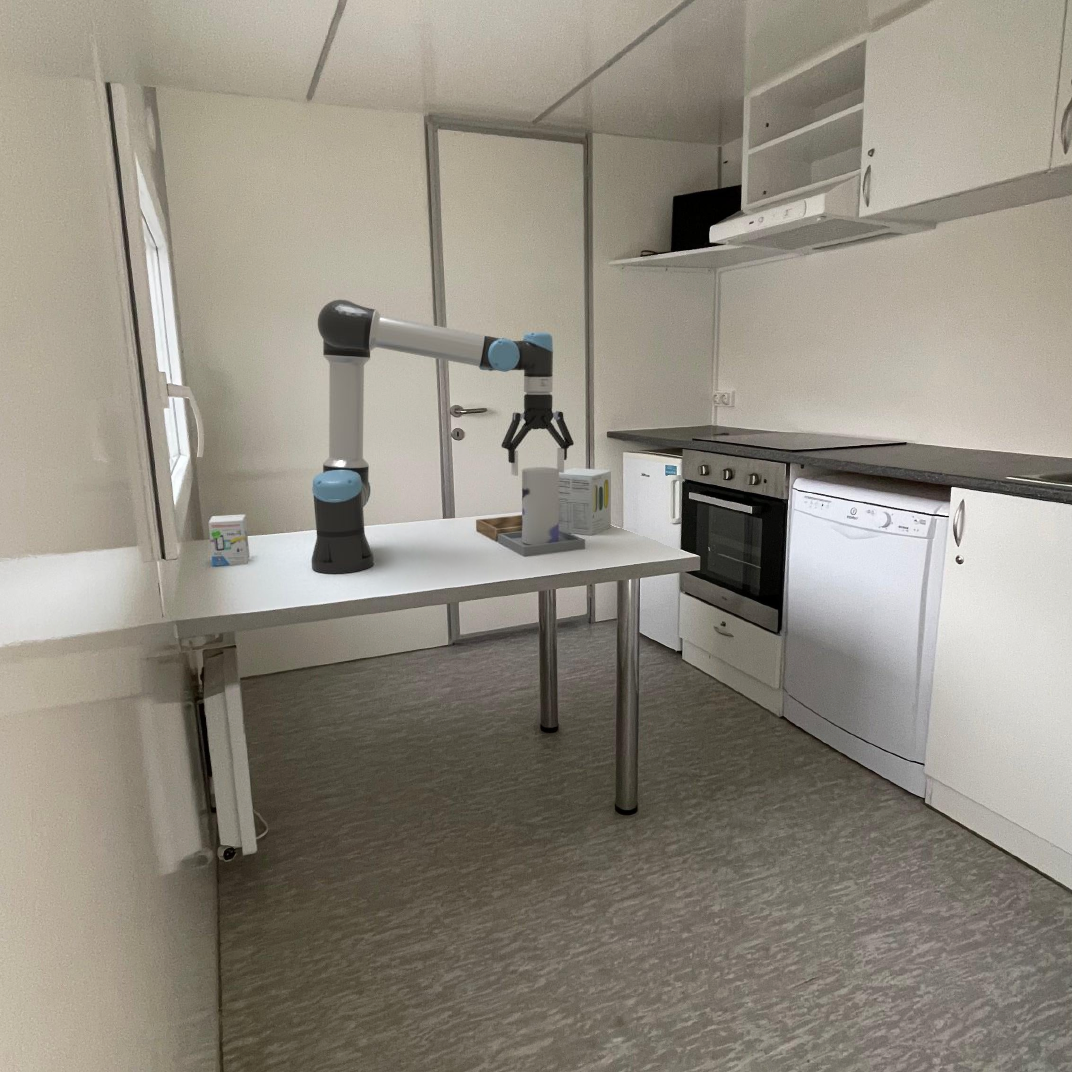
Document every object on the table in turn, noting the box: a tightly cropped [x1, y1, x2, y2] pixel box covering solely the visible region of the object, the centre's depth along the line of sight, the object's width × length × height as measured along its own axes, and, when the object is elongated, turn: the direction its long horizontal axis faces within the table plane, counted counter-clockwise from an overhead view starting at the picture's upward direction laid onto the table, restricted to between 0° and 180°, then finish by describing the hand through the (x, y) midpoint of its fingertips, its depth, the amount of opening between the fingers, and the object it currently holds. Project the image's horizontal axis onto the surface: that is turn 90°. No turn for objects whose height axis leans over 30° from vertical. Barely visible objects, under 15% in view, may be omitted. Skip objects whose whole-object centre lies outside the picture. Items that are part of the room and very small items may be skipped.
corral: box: [475, 514, 522, 543], centre depth 229 cm, size 16×16×4 cm
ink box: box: [207, 514, 250, 567], centre depth 201 cm, size 8×8×12 cm
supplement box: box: [558, 467, 612, 536], centre depth 231 cm, size 13×13×18 cm
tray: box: [497, 529, 586, 557], centre depth 213 cm, size 18×18×2 cm
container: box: [521, 466, 559, 545], centre depth 211 cm, size 10×10×20 cm
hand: (537, 473), depth 209 cm, fingers open, 13 cm apart
